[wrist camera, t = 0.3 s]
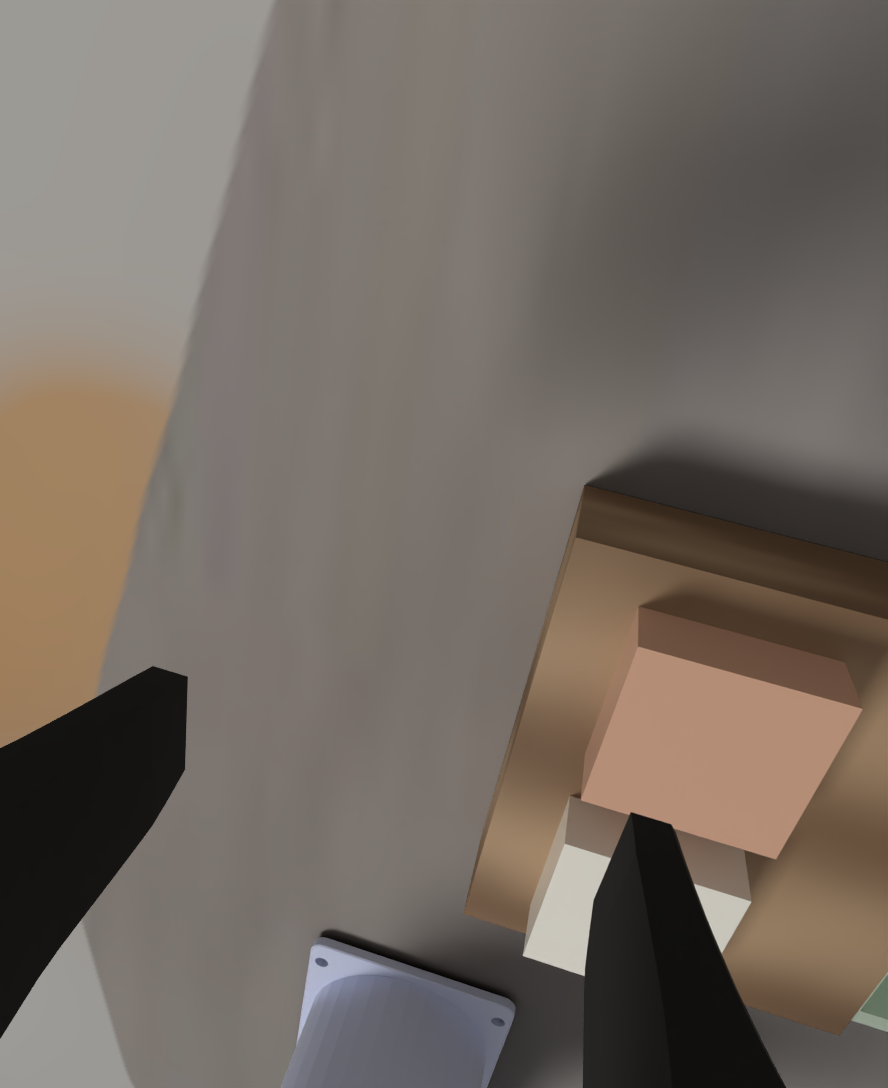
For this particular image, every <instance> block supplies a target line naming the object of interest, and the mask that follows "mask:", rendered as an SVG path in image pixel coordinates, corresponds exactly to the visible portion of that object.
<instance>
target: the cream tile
mask: <svg viewBox="0 0 888 1088" xmlns="http://www.w3.org/2000/svg"><path fill="white" fill-rule="evenodd" d="M628 818H629V815H627V814H624V813H621V812H617V811H614V810H611V809H607V808H604V807H601V806H597V805H594V804H591V803H588V802H584V801H581V799H579V798H576V797H573V796H570V797H569V800H568V802H567V805H566V808H565V811H564V813H563V816H562V819H561V822H560V824H559V827H558V830H557V833H556V835H555V838H554V841H553V844H552V847H551V849H550V852H549V855H548V858H547V860H546V863H545V866H544V869H543V871H542V874H541V877H540V880H539V882H538V885H537V888H536V891H535V894H534V896H533V899H532V902H531V905H530V910H529V917H528V924H527V930H526V937H525V944H524V951H523V956H525V957H528V958H531V959H534V960H537V961H540V962H543V963H546V964H549V965H552V966H555V967H558V968H561V969H564V970H567V971H571V972H574V973H577V974H580V975H583V976H585V964H586V955H587V947H588V938H589V930H590V923H591V915H592V908H593V900H594V898H595V895H596V893H597V891H598V888H599V886H600V884H601V881H602V879H603V877H604V874H605V872H606V869H607V867H608V865H609V862H610V860H611V858H612V855H613V853H614V851H615V848H616V846H617V843H618V841H619V839H620V836H621V834H622V832H623V829H624V827H625V825H626V822H627V820H628ZM674 830H675V831H676V834H677V837H678V840H679V843H680V846H681V849H682V852H683V855H684V858H685V861H686V864H687V866H688V869H689V872H690V875H691V878H692V880H693V883H694V886H695V889H696V891H697V894H698V896H699V899H700V902H701V904H702V907H703V910H704V912H705V915H706V917H707V920H708V922H709V925H710V927H711V930H712V932H713V935H714V937H715V939H716V942H717V944H718V946H719V949H720V951H721V953H722V952H723V950H724V949H725V947H726V945H727V943H728V942H729V940H730V938H731V937H732V935H733V933H734V931H735V930H736V928H737V926H738V924H739V923H740V921H741V919H742V918H743V916H744V914H745V912H746V911H747V909H748V907H749V905H750V904H751V902H752V901H751V894H750V887H749V880H748V873H747V866H746V859H745V852H744V850H743V849H740V848H736V847H733V846H730V845H726V844H723V843H720V842H716V841H713V840H710V839H707V838H703V837H700V836H697V835H693V834H690V833H687V832H683V831H680V830H677V829H674Z"/></svg>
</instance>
